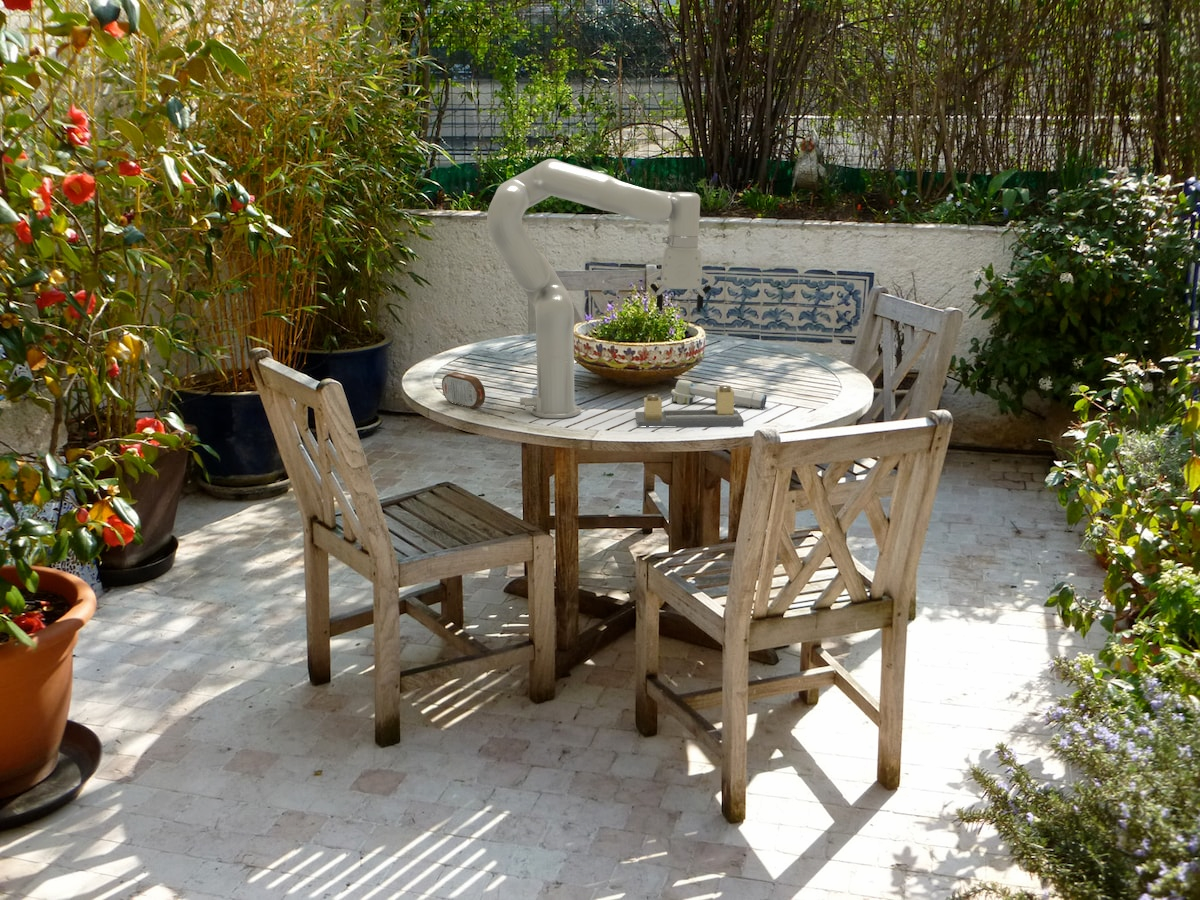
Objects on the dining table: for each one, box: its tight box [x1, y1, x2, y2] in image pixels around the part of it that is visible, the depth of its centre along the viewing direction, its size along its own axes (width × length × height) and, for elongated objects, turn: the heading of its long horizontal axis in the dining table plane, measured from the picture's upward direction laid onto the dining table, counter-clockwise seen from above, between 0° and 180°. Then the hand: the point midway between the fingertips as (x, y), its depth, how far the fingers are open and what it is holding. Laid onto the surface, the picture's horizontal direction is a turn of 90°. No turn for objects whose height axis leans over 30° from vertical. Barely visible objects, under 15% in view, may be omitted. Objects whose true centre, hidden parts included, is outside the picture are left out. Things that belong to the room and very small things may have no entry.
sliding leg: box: [714, 384, 735, 415], centre depth 294 cm, size 4×4×7 cm
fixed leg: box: [643, 393, 663, 419], centre depth 294 cm, size 4×4×6 cm
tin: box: [441, 371, 486, 409], centre depth 312 cm, size 15×3×8 cm, turn 47°
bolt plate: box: [634, 408, 745, 428], centre depth 295 cm, size 26×10×2 cm, turn 93°
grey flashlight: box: [670, 379, 768, 410], centre depth 312 cm, size 5×7×25 cm
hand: (679, 310), depth 299 cm, fingers open, 9 cm apart
